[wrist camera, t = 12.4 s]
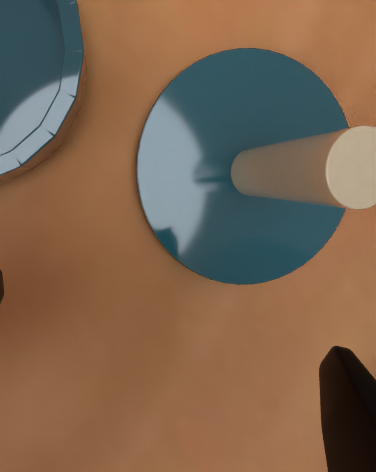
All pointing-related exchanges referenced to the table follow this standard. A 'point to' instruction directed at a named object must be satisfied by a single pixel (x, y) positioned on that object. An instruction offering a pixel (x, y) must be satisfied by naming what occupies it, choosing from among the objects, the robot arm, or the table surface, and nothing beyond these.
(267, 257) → the lid
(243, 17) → the table surface
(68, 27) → the dish
